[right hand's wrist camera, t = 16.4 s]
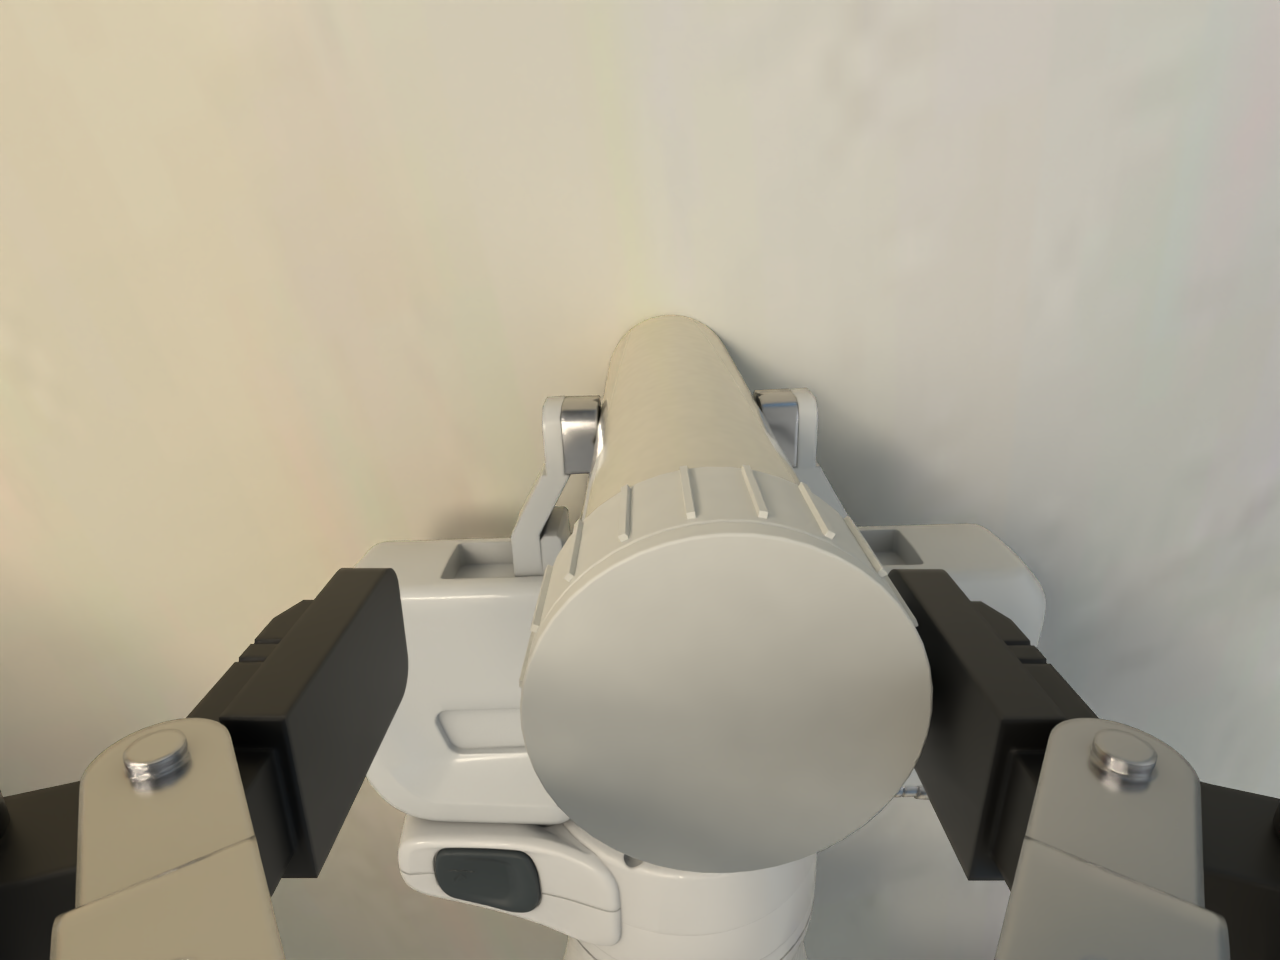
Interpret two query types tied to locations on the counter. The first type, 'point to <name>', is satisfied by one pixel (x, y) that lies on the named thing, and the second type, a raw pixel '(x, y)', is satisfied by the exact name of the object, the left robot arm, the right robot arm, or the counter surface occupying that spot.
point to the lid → (722, 674)
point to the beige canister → (676, 411)
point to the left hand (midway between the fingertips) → (676, 396)
